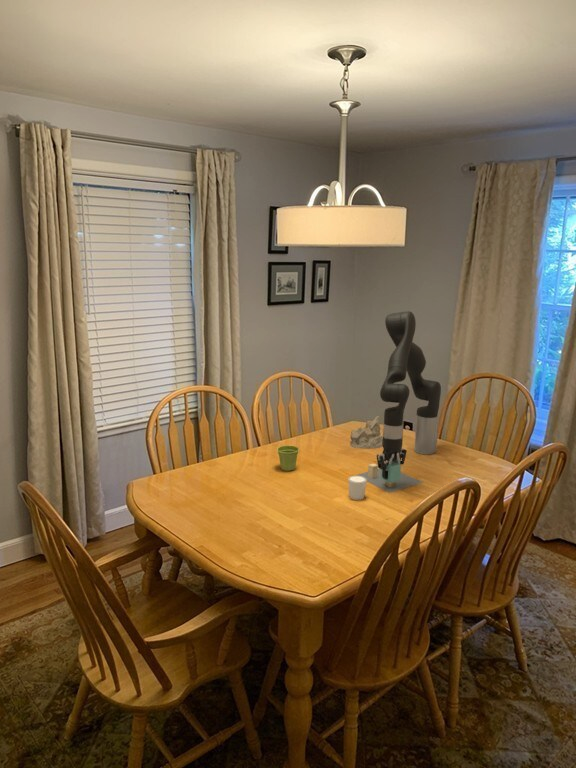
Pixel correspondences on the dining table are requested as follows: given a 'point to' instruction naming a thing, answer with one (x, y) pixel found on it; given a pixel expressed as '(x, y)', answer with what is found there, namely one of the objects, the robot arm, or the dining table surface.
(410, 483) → the board
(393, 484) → the post tall
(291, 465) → the plant pot
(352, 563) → the dining table surface
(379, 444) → the ceramic cottage
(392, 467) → the teal block
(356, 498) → the white cylinder
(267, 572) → the dining table surface
